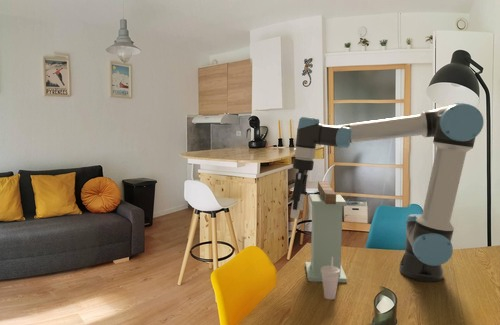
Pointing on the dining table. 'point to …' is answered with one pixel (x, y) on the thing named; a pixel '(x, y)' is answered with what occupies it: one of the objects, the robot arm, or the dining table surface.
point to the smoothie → (330, 280)
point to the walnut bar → (326, 192)
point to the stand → (325, 237)
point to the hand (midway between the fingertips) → (296, 213)
